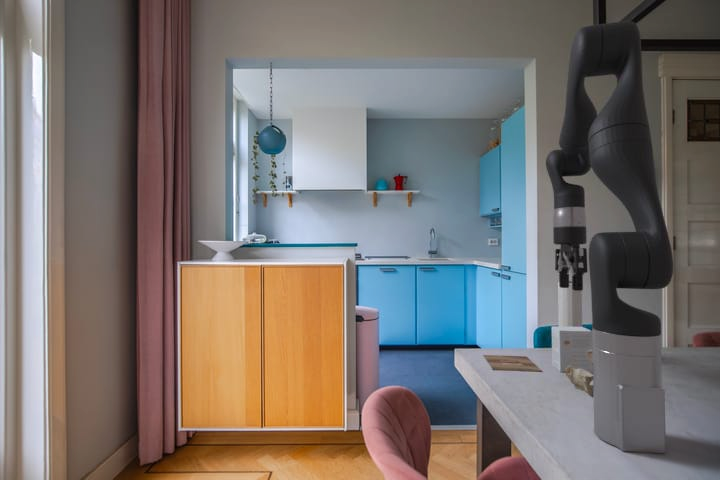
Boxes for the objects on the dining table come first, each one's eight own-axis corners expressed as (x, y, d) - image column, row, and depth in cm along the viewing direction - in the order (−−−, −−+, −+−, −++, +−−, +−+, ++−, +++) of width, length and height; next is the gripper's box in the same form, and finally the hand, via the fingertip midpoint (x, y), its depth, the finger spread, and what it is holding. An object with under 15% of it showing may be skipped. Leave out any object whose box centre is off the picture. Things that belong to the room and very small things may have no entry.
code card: (542, 371, 98) (542, 371, 98) (492, 369, 100) (492, 369, 100) (526, 356, 112) (526, 356, 112) (483, 355, 113) (483, 354, 113)
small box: (583, 367, 102) (583, 326, 102) (594, 373, 96) (593, 330, 97) (551, 366, 103) (551, 325, 103) (559, 372, 97) (559, 330, 98)
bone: (561, 386, 83) (566, 341, 87) (563, 394, 88) (567, 351, 92) (609, 397, 78) (612, 349, 82) (608, 405, 83) (611, 359, 87)
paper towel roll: (573, 360, 108) (572, 282, 108) (554, 355, 113) (553, 281, 114) (590, 357, 111) (589, 281, 112) (570, 352, 116) (569, 280, 117)
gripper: (598, 223, 93) (599, 292, 93) (573, 227, 108) (574, 287, 107) (564, 223, 94) (565, 291, 94) (544, 227, 109) (545, 286, 108)
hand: (570, 289), depth 100 cm, fingers open, 8 cm apart
